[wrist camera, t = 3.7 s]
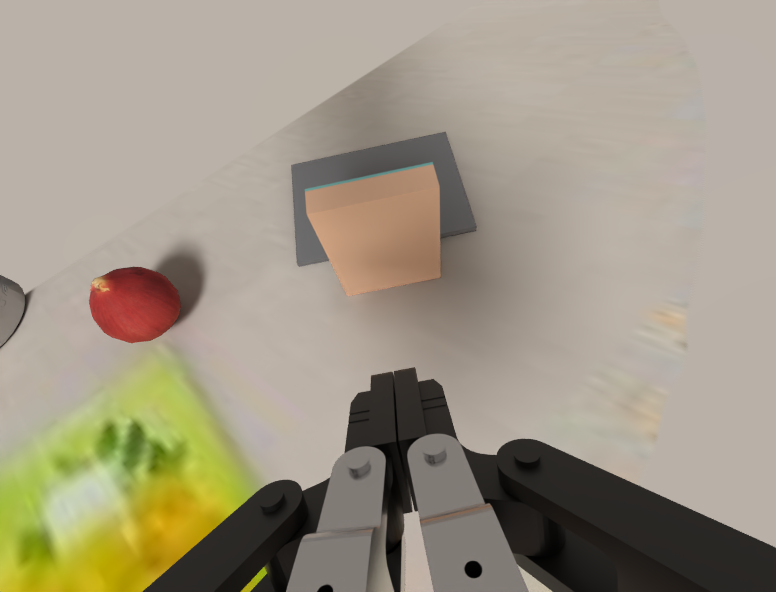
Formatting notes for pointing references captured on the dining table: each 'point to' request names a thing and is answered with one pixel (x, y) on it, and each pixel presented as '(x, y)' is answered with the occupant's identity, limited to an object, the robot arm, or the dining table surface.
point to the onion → (134, 304)
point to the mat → (375, 161)
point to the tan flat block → (380, 227)
